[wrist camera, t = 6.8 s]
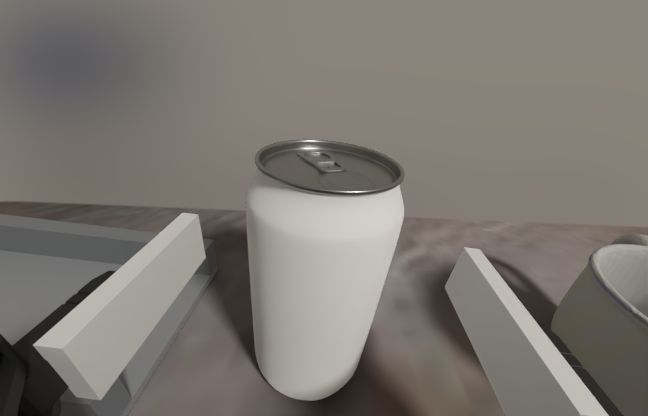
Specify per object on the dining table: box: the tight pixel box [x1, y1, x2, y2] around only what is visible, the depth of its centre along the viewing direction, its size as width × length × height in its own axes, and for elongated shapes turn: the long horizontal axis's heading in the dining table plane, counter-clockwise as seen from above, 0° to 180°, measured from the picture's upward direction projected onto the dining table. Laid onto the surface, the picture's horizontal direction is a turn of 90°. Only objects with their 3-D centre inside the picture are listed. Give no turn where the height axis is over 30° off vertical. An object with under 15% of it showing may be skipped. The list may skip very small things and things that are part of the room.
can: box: [246, 140, 404, 401], centre depth 12 cm, size 6×6×12 cm
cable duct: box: [0, 214, 218, 416], centre depth 14 cm, size 20×10×3 cm, turn 86°
